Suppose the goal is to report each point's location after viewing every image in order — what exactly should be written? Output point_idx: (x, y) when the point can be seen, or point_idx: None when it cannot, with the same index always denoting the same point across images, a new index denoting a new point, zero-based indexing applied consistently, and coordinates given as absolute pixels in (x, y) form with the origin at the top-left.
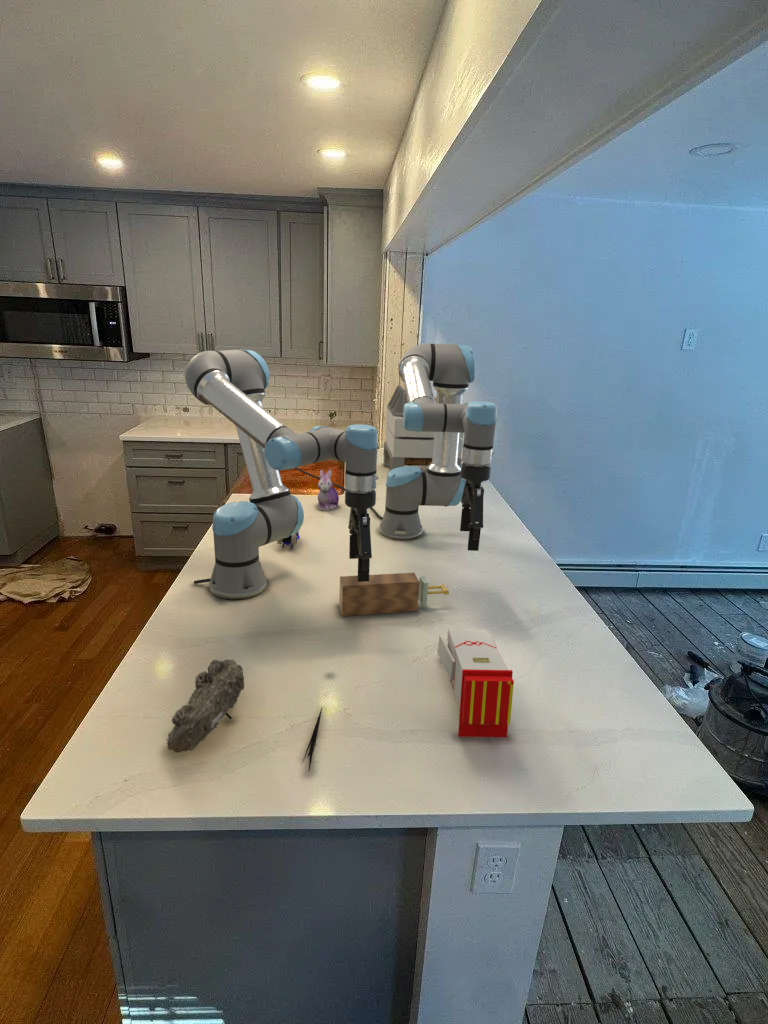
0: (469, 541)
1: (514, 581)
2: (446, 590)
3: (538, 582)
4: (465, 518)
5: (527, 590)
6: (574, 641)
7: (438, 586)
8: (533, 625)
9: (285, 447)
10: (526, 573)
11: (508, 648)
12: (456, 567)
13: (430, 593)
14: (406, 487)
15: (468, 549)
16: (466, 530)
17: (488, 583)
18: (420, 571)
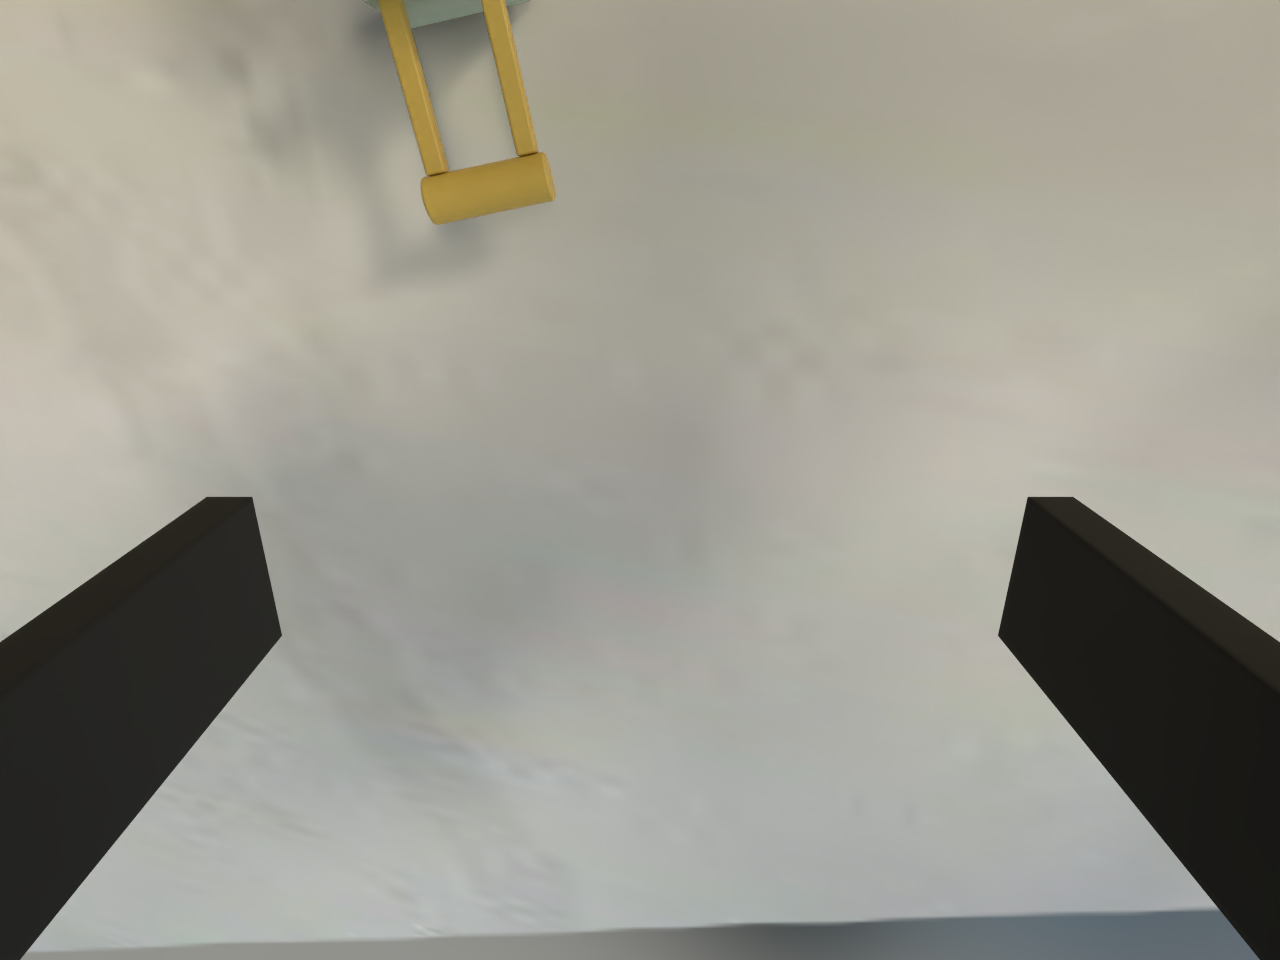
0: (107, 581)
1: (862, 709)
2: (424, 199)
3: (843, 822)
4: (1166, 700)
5: (743, 750)
6: (231, 822)
7: (516, 133)
8: (341, 691)
9: None
10: (965, 791)
11: (59, 521)
12: (1122, 377)
13: (391, 38)
14: None
15: (197, 510)
16: (1016, 594)
17: (840, 557)
18: (1097, 41)
